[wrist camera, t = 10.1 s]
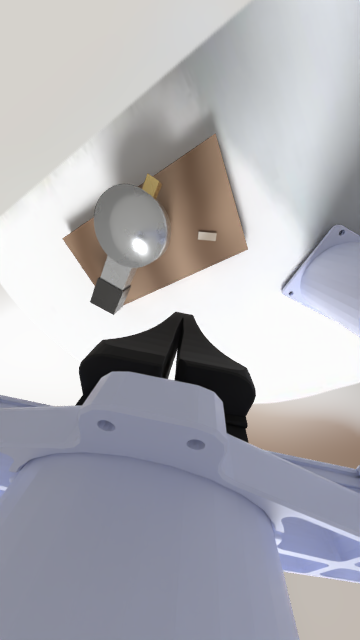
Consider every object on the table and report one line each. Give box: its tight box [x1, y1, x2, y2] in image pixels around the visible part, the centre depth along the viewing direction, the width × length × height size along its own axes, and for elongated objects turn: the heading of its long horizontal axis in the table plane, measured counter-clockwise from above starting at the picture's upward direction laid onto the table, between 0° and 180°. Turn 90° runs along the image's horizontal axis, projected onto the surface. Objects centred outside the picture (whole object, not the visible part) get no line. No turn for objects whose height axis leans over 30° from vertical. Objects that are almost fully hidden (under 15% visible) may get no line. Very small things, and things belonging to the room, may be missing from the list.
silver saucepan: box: [90, 174, 171, 315], centre depth 16 cm, size 13×6×3 cm, turn 150°
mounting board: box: [62, 133, 248, 305], centre depth 18 cm, size 10×18×2 cm, turn 115°
